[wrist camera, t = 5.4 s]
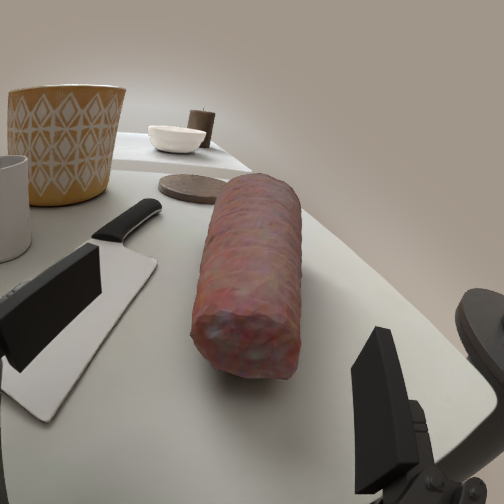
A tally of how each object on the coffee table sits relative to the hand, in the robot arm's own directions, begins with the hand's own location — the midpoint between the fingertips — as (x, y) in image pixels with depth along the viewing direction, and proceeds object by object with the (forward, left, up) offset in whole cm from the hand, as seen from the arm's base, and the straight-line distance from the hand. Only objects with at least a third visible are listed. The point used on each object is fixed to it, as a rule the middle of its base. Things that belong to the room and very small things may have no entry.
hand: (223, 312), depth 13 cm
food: (-1, -11, -7) cm, 13 cm away
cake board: (+8, -40, -6) cm, 41 cm away
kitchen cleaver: (+11, -11, -7) cm, 17 cm away
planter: (+29, -28, -7) cm, 41 cm away
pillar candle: (+21, -102, -7) cm, 105 cm away
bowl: (+24, -80, -7) cm, 84 cm away
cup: (+24, -8, -7) cm, 26 cm away
